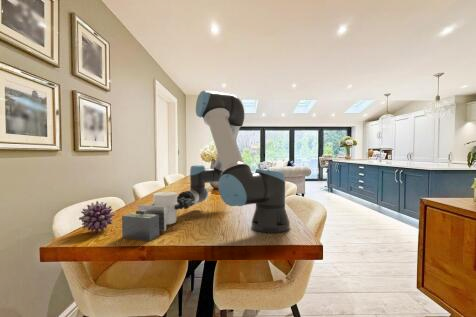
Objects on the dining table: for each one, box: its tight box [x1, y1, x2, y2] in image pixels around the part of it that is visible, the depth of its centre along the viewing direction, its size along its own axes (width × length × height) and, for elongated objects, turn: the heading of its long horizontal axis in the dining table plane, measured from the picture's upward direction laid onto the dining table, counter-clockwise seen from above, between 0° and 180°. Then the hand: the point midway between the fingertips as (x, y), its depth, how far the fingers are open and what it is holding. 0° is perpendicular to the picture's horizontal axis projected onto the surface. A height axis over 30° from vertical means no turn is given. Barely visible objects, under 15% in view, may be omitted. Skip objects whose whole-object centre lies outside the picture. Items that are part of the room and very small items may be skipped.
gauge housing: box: [121, 212, 160, 242], centre depth 87 cm, size 12×5×8 cm, turn 71°
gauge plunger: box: [135, 204, 167, 232], centre depth 89 cm, size 12×7×9 cm, turn 71°
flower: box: [78, 200, 116, 233], centre depth 93 cm, size 12×12×12 cm
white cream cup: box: [152, 191, 179, 226], centre depth 100 cm, size 10×10×12 cm
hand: (158, 208), depth 96 cm, fingers closed on white cream cup, 9 cm apart
